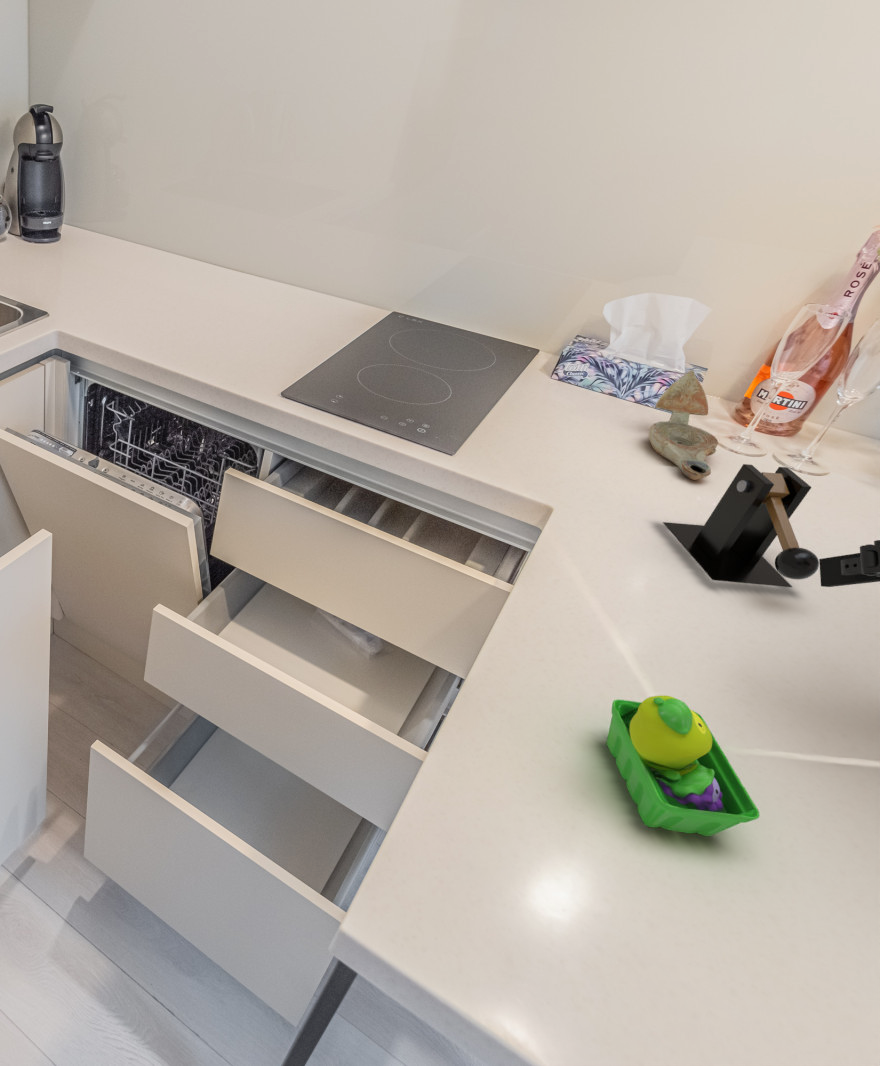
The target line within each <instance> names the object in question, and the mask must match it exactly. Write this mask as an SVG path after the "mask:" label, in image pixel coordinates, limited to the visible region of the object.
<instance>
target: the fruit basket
mask: <svg viewBox="0 0 880 1066" xmlns="http://www.w3.org/2000/svg"><path fill="white" fill-rule="evenodd" d="M713 734H714V733H712V731H711V729H710V727H709V726H708V724H707V723H706V720H705V719H704V717H703V716H702V715H701V714H699V713H698V712H696V711H694V710H692V709H691V708H690V707H689V706H688V704H687V703H685V702H684V701H682V700H681V699H678V698H676V697H674V696H671V695H660V694H659V695H654V696H653V695H652V696H649V697H648V698H645V699H644V700H643V701H636V700H635V701H634V700H627V699H619V698H617V699H614V700H612V705H611V719H610V725H609V730H608V733H607V739H606V746H607V748H608V750H609V752H610V754H611V755H612V757H613V758H614V759H615V765H616V767H617V769H618V771H619V774H620V776H621V777H622V778H623V780H624V781H625V784H626V788H627V791H628V793H629V795H630V797H631V799H632V801H633V802H634V803H635V804H636V805H637V812H638V814H639V817H640V818H641V821H642V823H643V825H645V826H646V827H648V828H662V829H664V830H666V831H673V832H678V833H685V834H696V833H697V834H698V835H702V836H704V837H711V836H714V835H716V834H719V833H721V832H723V831H725V830H727V829H730V828H732V827H734V826H737V825H739V824H743V823H744V824H746V823H749V822H752V821H755V820H758V819H759V818H760V812H759V809H758V807H757V805H756V804H755V803H754V801H753V799H752V797H751V796H750V794H749V792H748V791H747V789H746V788H745V786H744V785H743V783H742V782H741V779H740V778H739V776H738V775H737V773H736V771H735V769H734V768H733V766H732V764H731V763H730V761H729V759H728V758H727V756H726V754H725V753H724V751H723V750H722V748H721V746H720V745H719V743H718V741H717V740H716V738H715V736H714V735H713Z"/></svg>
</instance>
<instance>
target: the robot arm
mask: <svg viewBox="0 0 880 1066" xmlns="http://www.w3.org/2000/svg"><path fill="white" fill-rule="evenodd" d="M818 561H819V577H820V587H823V588H833V587H843V586H852V585H861V584H870V583H879V582H880V539H877V540H874V541H873V544H869V543H868V544H865V545H860V546H859V552H857V553H856V552H855V553H850V554H844V555H843V554H842V555H837V556H829V557H824V558H818Z"/></svg>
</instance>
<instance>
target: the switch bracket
mask: <svg viewBox="0 0 880 1066" xmlns="http://www.w3.org/2000/svg"><path fill="white" fill-rule="evenodd" d="M774 473H779V474H782V475H783V478H784V480H785V483H786V485H787V488H788V491H789V493H790V494H788V495H787V496H785V497H784V498H782V499H781V501H782V503H783V506H784V509H785V511H786V514H787V516H788V519H789V520H790V519H791V517H792V515H793V514H794V513H795V512H796V510H797V509H798V508H799V506H800V504H801V503H802V502H803V500H804V499H805V497H806V496H807V495H808V494H809V492H810V490H811V489H812V486H811V485H809V484H808V483H807V482H806V481H805V480H804V479H802V478H801V477H800V476H799V475H798V474H796V473H795V472H794V471H793V470H791V469H790V468H789V467H788V466H787V467H785V466H778V468H777V469H776V470H775V472H774ZM773 486H774V484H773V483H772V482H771V481H770V480H769V479H768V478H766V477H765V476H764V475H763V474H762V472H761V471H760V470H759V469H757V467H755V466H754V465H753V464H747V463H743V464H742V466H741V467H740V468H739V470H738V472H737V473H736V474H735V476H734V478H733V480H732V481H731V483H730V484H729V486H728V487H727V489H726V491H725V492H724V493H723V495H722V497H721V498H720V500H719V502H718V503H717V504H716V506H715V508H714V509H713V511H711V514H710V515H709V517H708V518H707V520H706V521H705V523H704V524H703V525H702V524H701V525H700V524H690V523H680V522H679V523H677V522H667V521H663V522H662V524H664V526H665V527H666V528H667V529H668V530H669V532H670V533H671V534H672V535H673V537H675V538H676V540H677V541H678V542H679V543H680V544H681V545H682V547H683V548H684V549H685V550H686V551H687V553H688V554H690V556H691V557H692V558H693V559H694V561H695V562H696V563H697V564H698V565H699V567H700V568H701V569H702V570H703V571H704V572H705V573H706V574H707V576H708V577H709V578H710V579H711V580H712V581H716V582H719V581H720V582H727V583H728V582H729V583H740V584H750V585H751V584H752V585H762V586H774V587H783V588H784V587H785V588H793V586H792V585H791V584H790V582H789V581H788V580H786V579H785V578H784V576H783V575H781V574H780V573H779V572H778V571H777V569H776V568H774V566H773V565H772V564H771V563H769V561H768V560H767V559H765V557H764V554H765V553H766V552H767V550H768V549H769V547H770V546H771V544H772V543H773V542H774V540H775V539H776V538H777V537H778V536H777V533H776V531H775V528H774V525H773V523H772V520H771V517H770V515H769V512H768V509H767V506H766V504H765V503H762V502H763V500H764V499H765V497H766V496H767V494H768V493H769V492H770V490H771V489H772V487H773Z"/></svg>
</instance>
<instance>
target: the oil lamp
mask: <svg viewBox="0 0 880 1066" xmlns="http://www.w3.org/2000/svg"><path fill="white" fill-rule="evenodd" d="M654 407H655V409H659V410H664V411H668V412H670V413H671V415H670V417H669V420H667V421H658V422H654V423H653V424H651V426H650V428H649V429H648V438H649V442H650V444H651V447H652V449H653V450H654V451H655V452H656V453H657V454H658V455H659V456H661V457H663V458H665V459H667V460H668V461H670V462H671V463H672V464H674V465H676V466H677V467H678V468H679V469H680V471H681V472H682V474H683V475H684V476H685V477H686V478H687V479H690V480H693V481H695V480H700V479H704V478H706V477H708V476H709V475H711V473H712V470H711V468H710V466H709V465H708V464H707V461H705V460H706V458H707V457H709V456H712V455H714V454H715V453H716V452H717V447H718V446H719V440H718V439H717V437H716V436H714V435H713V434H712V433H710V432H709V431H707V430H703V429H702V428H699V427H697V426H694V425H690V424H689V421H690V415H695V416H707V415H708V414H709V403H708V398H707V395H706V393H705V390H704V388H703V386H702V384H701V383H700V381H699V378H697V376H696V373H695V371H694V370H689V371H687V372H686V373H685V374H683V375H682V376H680V377H679V378H678V379H676V380H675V381H674V382H673V383H672V384H671V385H669V387H667V389H666V390H664V392H663V393H662V394H661V396H660V397H659V398H658V400H657V401H656V403H655V405H654Z"/></svg>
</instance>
